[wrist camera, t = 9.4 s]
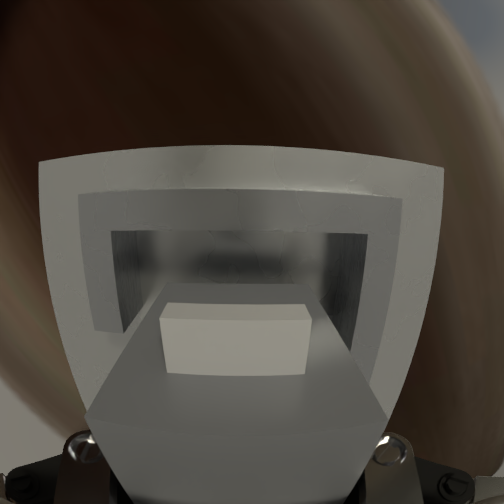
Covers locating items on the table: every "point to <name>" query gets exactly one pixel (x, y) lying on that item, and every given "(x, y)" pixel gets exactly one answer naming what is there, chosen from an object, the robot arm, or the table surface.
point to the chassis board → (241, 243)
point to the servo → (236, 401)
